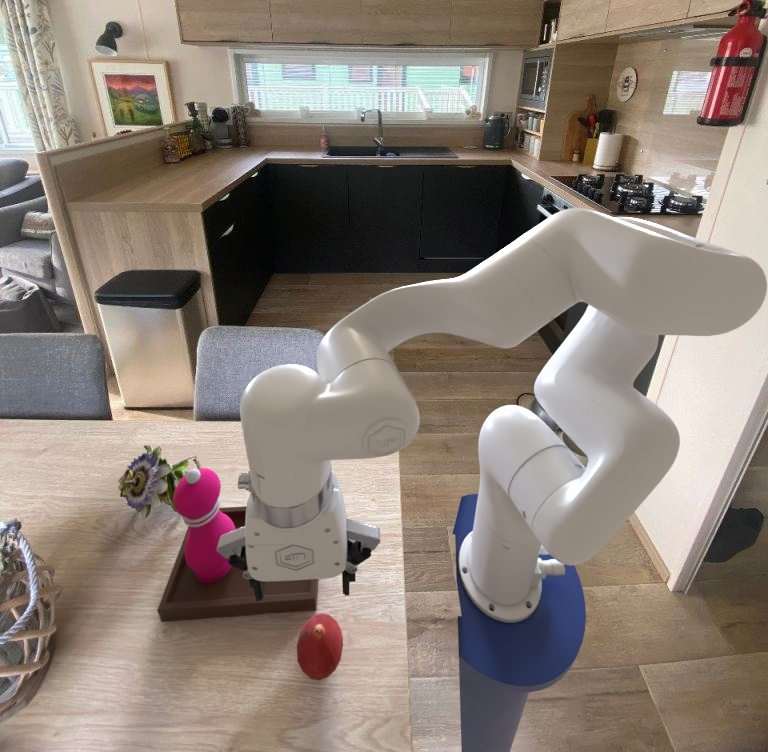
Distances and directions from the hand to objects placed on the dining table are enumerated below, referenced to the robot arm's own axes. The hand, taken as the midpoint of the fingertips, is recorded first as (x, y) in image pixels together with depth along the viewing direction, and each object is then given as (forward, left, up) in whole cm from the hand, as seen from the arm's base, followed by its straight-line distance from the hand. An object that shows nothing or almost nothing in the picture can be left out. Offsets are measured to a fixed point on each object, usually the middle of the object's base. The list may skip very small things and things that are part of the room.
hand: (305, 582), depth 45 cm
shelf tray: (+11, -12, -17) cm, 23 cm away
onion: (-1, 0, -17) cm, 17 cm away
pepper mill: (+16, -12, -16) cm, 26 cm away
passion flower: (+30, -24, -17) cm, 42 cm away
